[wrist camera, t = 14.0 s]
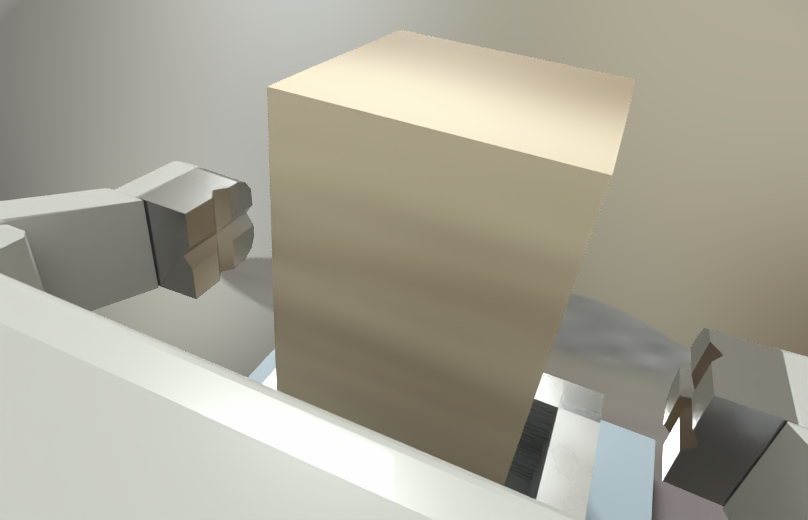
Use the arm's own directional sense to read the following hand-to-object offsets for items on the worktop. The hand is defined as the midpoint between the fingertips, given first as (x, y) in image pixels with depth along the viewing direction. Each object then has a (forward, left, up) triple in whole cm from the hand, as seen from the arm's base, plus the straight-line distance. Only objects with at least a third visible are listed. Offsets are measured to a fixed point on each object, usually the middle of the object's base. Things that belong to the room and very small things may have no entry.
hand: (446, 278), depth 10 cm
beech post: (0, 0, -7) cm, 8 cm away
